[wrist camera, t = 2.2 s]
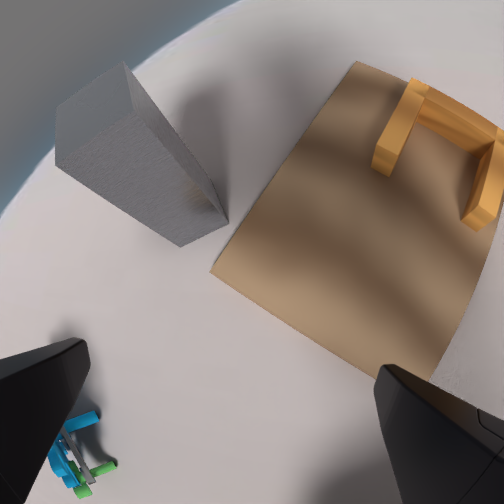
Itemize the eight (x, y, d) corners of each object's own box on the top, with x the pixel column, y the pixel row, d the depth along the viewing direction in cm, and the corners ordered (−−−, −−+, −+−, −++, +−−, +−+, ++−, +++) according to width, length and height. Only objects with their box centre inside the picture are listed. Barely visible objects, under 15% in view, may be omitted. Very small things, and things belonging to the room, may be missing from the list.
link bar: (228, 223, 22) (134, 110, 10) (180, 247, 23) (55, 165, 10) (210, 180, 24) (123, 60, 11) (166, 203, 24) (56, 107, 12)
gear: (21, 380, 21) (-1, 378, 14) (72, 363, 25) (72, 355, 18) (72, 482, 19) (76, 520, 12) (121, 463, 23) (144, 493, 16)
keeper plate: (410, 399, 17) (429, 413, 13) (214, 274, 22) (192, 262, 18) (509, 152, 19) (529, 128, 15) (356, 68, 24) (357, 36, 20)
